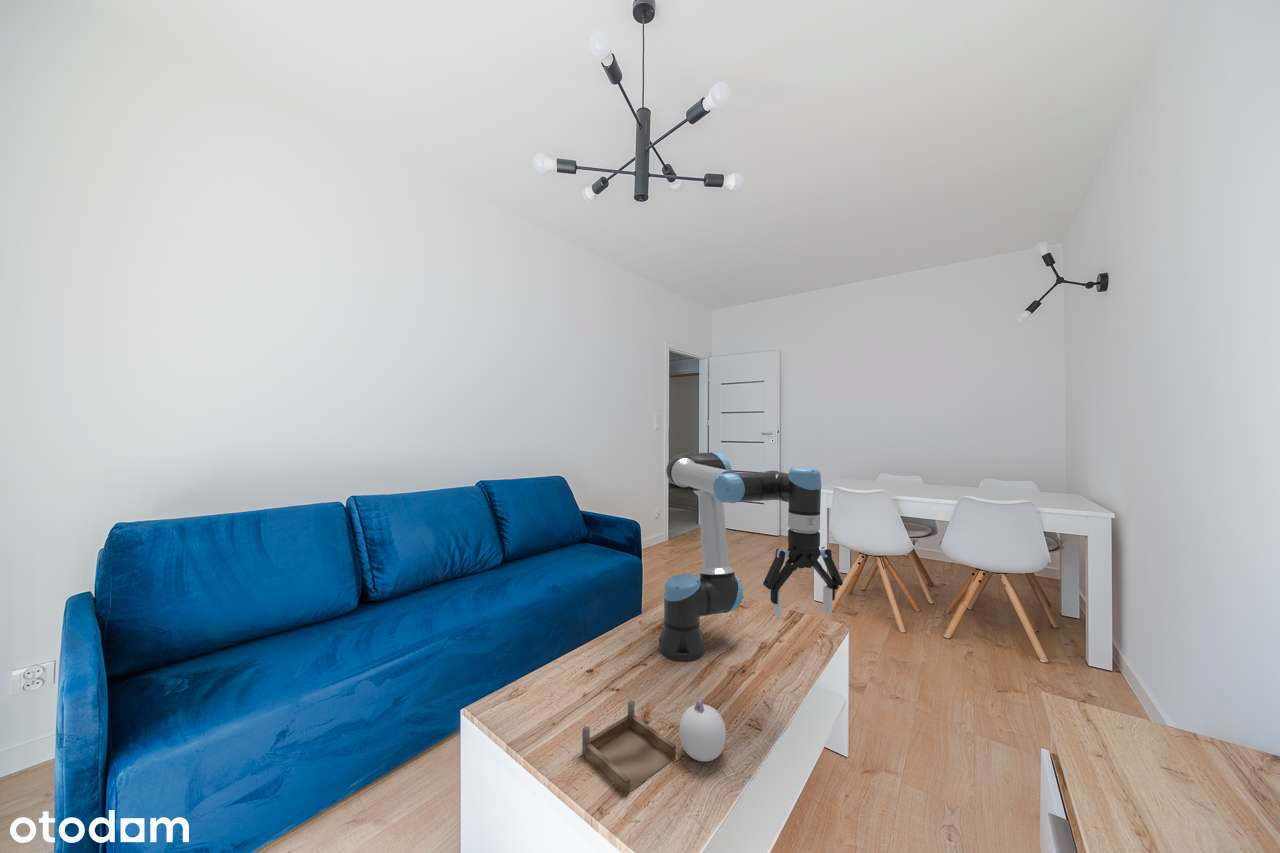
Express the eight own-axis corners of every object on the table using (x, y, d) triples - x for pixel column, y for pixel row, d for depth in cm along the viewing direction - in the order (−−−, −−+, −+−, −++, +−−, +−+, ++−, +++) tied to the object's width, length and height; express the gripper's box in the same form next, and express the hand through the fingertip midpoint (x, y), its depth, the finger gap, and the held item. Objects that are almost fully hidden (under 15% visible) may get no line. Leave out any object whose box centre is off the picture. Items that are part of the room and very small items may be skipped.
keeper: (580, 755, 95) (581, 728, 96) (631, 724, 106) (631, 699, 106) (625, 797, 85) (625, 767, 85) (676, 758, 95) (676, 730, 95)
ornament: (673, 764, 93) (674, 709, 93) (685, 733, 103) (686, 683, 103) (721, 779, 90) (721, 721, 90) (729, 745, 99) (729, 693, 99)
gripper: (763, 535, 102) (762, 624, 102) (858, 532, 106) (857, 618, 106) (750, 527, 110) (749, 611, 110) (839, 525, 114) (838, 605, 114)
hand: (802, 614), depth 108 cm, fingers open, 13 cm apart
